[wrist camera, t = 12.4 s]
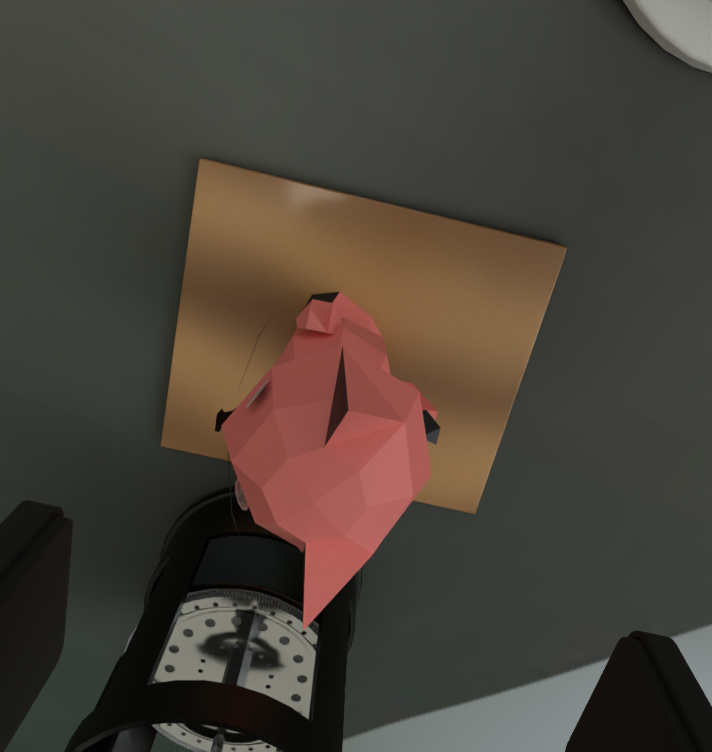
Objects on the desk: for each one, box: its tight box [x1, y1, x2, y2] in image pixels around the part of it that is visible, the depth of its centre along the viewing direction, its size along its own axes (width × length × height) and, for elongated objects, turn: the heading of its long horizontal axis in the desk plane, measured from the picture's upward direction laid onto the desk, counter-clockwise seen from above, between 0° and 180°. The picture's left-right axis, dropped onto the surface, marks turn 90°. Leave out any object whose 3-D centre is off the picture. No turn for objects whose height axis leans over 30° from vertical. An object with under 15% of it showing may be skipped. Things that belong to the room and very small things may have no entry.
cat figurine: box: [215, 292, 441, 631], centre depth 20 cm, size 7×7×12 cm
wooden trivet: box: [161, 158, 567, 514], centre depth 26 cm, size 12×14×1 cm
